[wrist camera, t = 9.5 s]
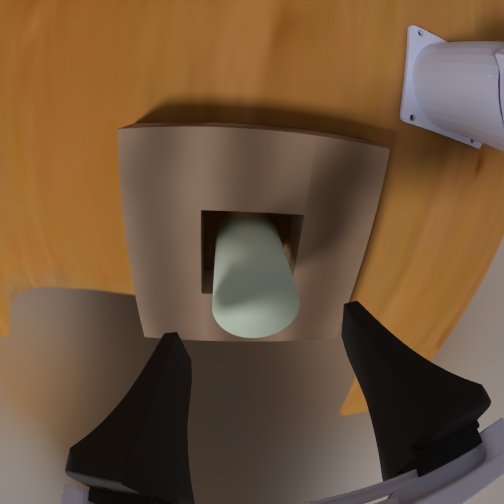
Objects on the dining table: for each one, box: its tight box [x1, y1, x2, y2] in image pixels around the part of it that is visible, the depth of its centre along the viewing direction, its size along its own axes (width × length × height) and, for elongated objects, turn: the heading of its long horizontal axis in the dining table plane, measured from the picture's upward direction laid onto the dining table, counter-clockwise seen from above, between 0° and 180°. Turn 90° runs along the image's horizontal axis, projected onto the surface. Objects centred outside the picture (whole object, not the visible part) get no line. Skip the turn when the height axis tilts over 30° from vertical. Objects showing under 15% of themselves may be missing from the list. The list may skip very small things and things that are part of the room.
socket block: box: [118, 122, 390, 341], centre depth 20 cm, size 16×16×3 cm
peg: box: [212, 211, 300, 338], centre depth 18 cm, size 4×4×8 cm
